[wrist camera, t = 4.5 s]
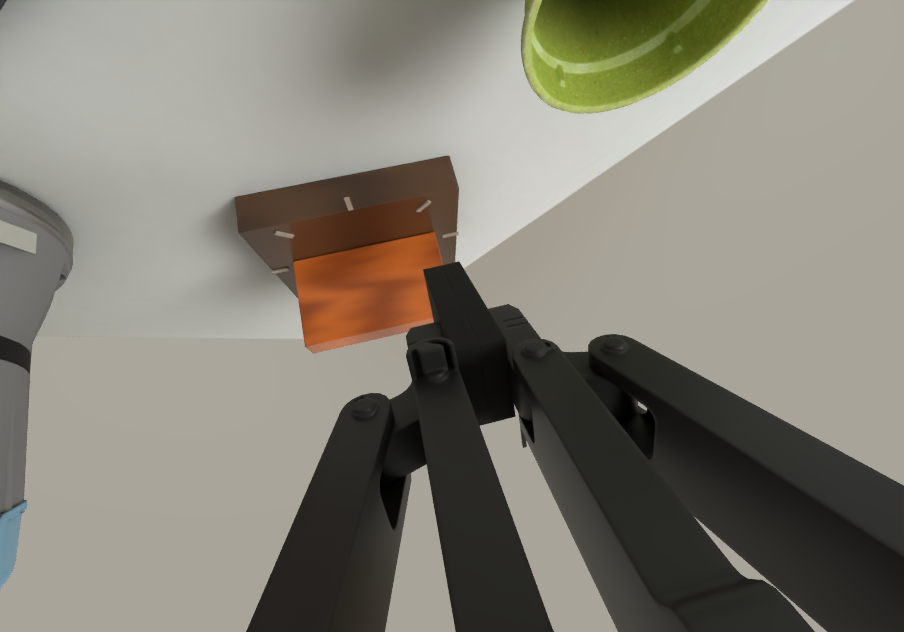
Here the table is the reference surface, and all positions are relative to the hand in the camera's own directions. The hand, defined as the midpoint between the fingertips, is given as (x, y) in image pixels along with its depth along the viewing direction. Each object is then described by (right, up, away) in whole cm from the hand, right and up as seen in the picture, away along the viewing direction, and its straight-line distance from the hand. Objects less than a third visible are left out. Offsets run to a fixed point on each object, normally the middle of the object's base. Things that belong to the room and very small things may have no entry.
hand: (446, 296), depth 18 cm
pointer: (-7, +5, +19) cm, 21 cm away
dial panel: (-8, +8, +20) cm, 23 cm away
